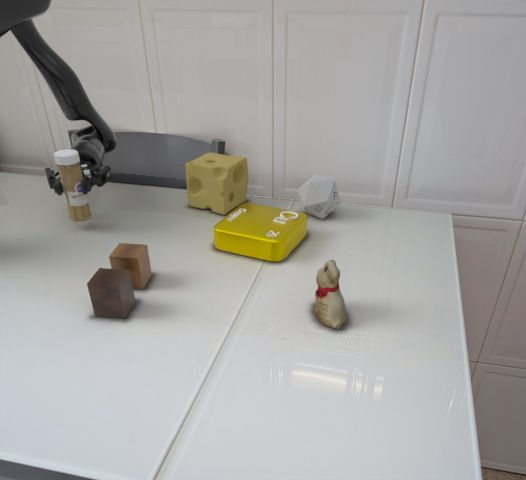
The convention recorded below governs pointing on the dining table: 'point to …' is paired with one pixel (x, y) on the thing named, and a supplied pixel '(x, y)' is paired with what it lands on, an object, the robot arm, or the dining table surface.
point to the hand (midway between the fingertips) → (71, 189)
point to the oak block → (133, 262)
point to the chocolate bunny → (329, 296)
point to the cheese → (217, 182)
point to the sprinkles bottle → (72, 184)
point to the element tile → (260, 231)
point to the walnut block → (111, 293)
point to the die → (319, 196)
